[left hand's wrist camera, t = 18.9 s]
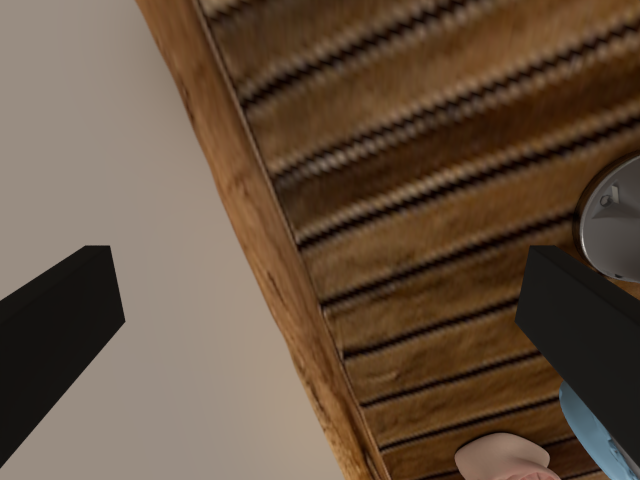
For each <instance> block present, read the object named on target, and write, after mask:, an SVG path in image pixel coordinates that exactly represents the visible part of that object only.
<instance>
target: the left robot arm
mask: <svg viewBox="0 0 640 480" xmlns="http://www.w3.org/2000/svg"><path fill="white" fill-rule="evenodd" d="M572 231H573V239H574V243H575V246H576V248H577V251H578V252H579V254H580V255H581V257H582V258H583V259H584V260H585V261H586V262H587V263H588V264H589V265H591V266H592V267H594V268H595V269H597V270H598V271H600V272H602V273H603V274H605V275H607V276H609V277H611V278H614V279H618V280H623V281H630V282H637V283H640V150H638V151H635V152H632V153H630V154H628V155H625V156H623V157H621V158H620V159H618V160H616V161H614V162H613V163H611V164H610V165H609V166H607V167H606V168H605V169H603V170H602V171H601V172H600V173H599V174H598V175H597V176H596V177H595V178H594V179H593V180H592V181H591V183H590V184H589V185H588V187H587V188H586V189H585V191H584V192H583V194H582V196H581V198H580V200H579V202H578V204H577V207H576V210H575V213H574V217H573V226H572ZM124 323H125V317H124V312H123V307H122V302H121V297H120V292H119V287H118V283H117V278H116V273H115V268H114V263H113V258H112V253H111V248H110V246H84V247H82V248H81V249H79V250H78V251H76V252H75V253H73V254H72V255H70V256H69V257H67V258H65V259H64V260H62V261H61V262H59V263H58V264H56V265H55V266H53V267H52V268H50V269H49V270H47V271H45V272H44V273H42V274H41V275H39V276H38V277H36V278H35V279H33V280H32V281H30V282H28V283H27V284H25V285H24V286H22V287H21V288H19V289H18V290H16V291H15V292H13V293H12V294H10V295H9V296H7V297H5V298H4V299H2V300H1V301H0V468H1V467H2V466H3V465H4V464H5V462H6V461H7V460H8V459H9V458H10V456H11V455H12V454H13V453H14V452H15V451H16V450H17V448H18V447H19V446H20V445H21V444H22V442H23V441H24V440H25V439H26V438H27V437H28V435H29V434H30V433H31V432H32V431H33V430H34V428H35V427H36V426H37V425H38V424H39V422H40V421H41V420H42V419H43V418H44V417H45V415H46V414H47V413H48V412H49V411H50V410H51V408H52V407H53V406H54V405H55V404H56V403H57V401H58V400H59V399H60V398H61V397H62V395H63V394H64V393H65V392H66V391H67V390H68V388H69V387H70V386H71V385H72V384H73V383H74V381H75V380H76V379H77V378H78V377H79V375H80V374H81V373H82V372H83V371H84V370H85V368H86V367H87V366H88V365H89V364H90V363H91V361H92V360H93V359H94V358H95V357H96V356H97V354H98V353H99V352H100V351H101V350H102V349H103V347H104V346H105V345H106V344H107V343H108V341H109V340H110V339H111V338H112V337H113V336H114V334H115V333H116V332H117V331H118V330H119V328H120V327H121V326H122V325H123V324H124ZM515 323H516V324H517V325H518V326H519V327H520V329H521V330H522V331H523V332H524V333H525V334H526V336H527V337H528V338H529V339H530V340H531V342H532V343H533V344H534V345H535V346H536V347H537V349H538V350H539V351H540V352H541V353H542V354H543V356H544V357H545V358H546V359H547V360H548V361H549V363H550V364H551V365H552V366H553V367H554V369H555V370H556V371H557V372H558V373H559V374H560V376H561V377H562V378H563V379H564V381H563V382H562V384H561V386H560V389H559V398H560V404H561V408H562V411H563V413H564V415H565V417H566V419H567V421H568V423H569V425H570V427H571V428H572V430H573V432H574V433H575V435H576V436H577V438H578V439H579V441H580V442H581V444H582V445H583V446H584V448H585V449H586V450H587V452H588V453H589V454H590V456H591V457H592V458H593V459H594V461H595V462H596V463H597V464H598V465H599V467H600V468H601V469H602V470H603V471H604V472H605V473H606V475H607V476H608V477H609V478H610V479H611V480H640V301H639V300H638V299H636V298H635V297H633V296H632V295H630V294H628V293H627V292H625V291H624V290H622V289H621V288H619V287H618V286H616V285H615V284H613V283H612V282H610V281H608V280H607V279H605V278H604V277H602V276H601V275H599V274H598V273H596V272H595V271H593V270H592V269H590V268H588V267H587V266H585V265H584V264H582V263H581V262H579V261H578V260H576V259H575V258H573V257H571V256H570V255H568V254H567V253H565V252H564V251H562V250H561V249H559V248H558V247H556V246H530V248H529V253H528V258H527V263H526V268H525V273H524V278H523V283H522V287H521V292H520V297H519V302H518V307H517V312H516V317H515Z"/></svg>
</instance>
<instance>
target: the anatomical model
mask: <svg viewBox="0 0 640 480" xmlns="http://www.w3.org/2000/svg"><path fill="white" fill-rule="evenodd" d="M549 460H550V457H549V454H548V453H547V452H546V451H545V450H544V449H543V448H541V447H540V446H538V445H536V444H534V443H532V442H530V441H528V440H526V439H524V438H521V437H519V436H516V435H513V434H508V433H494V434H490V435H487V436H484V437H481V438H479V439H477V440H475V441H472V442H471V443H469V444H467V445H465V446H464V447H462V448H461V449H459V450H458V451H457V453H456V454H455V461H456V464H457V466H458V469H459V471H460V473H461V474H462V475H463V477H464V478H465V479H466V480H561V479H560V478H559V477H558V475H556V474H555V473H554V472H553V471H551V470H550V469H548V468H547V466H548V464H549Z"/></svg>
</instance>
